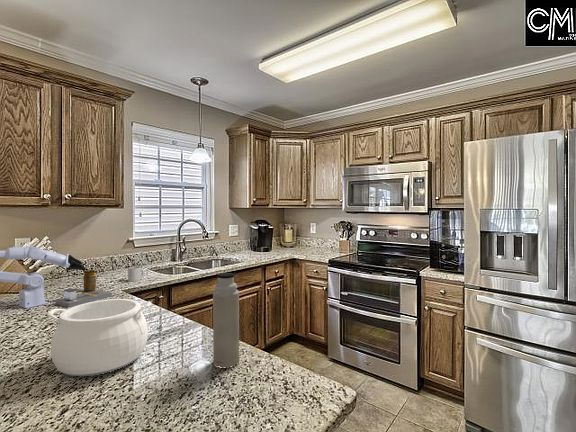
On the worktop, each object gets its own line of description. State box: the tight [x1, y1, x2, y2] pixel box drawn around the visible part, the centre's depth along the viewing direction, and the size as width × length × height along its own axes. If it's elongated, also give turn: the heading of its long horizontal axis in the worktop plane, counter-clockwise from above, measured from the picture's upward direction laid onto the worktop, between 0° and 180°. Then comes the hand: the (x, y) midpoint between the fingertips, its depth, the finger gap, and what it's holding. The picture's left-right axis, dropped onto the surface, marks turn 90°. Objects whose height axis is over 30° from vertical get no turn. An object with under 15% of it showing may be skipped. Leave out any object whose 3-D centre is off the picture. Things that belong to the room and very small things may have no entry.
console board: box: [54, 289, 113, 308], centre depth 167 cm, size 22×12×2 cm, turn 152°
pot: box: [46, 298, 152, 378], centre depth 101 cm, size 29×26×17 cm
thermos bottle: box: [212, 272, 240, 367], centre depth 99 cm, size 8×8×28 cm
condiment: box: [81, 269, 98, 294], centre depth 184 cm, size 7×8×12 cm
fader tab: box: [63, 288, 77, 300], centre depth 160 cm, size 3×5×5 cm, turn 62°
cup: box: [127, 266, 145, 283], centre depth 211 cm, size 7×10×9 cm
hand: (82, 265), depth 173 cm, fingers open, 7 cm apart
